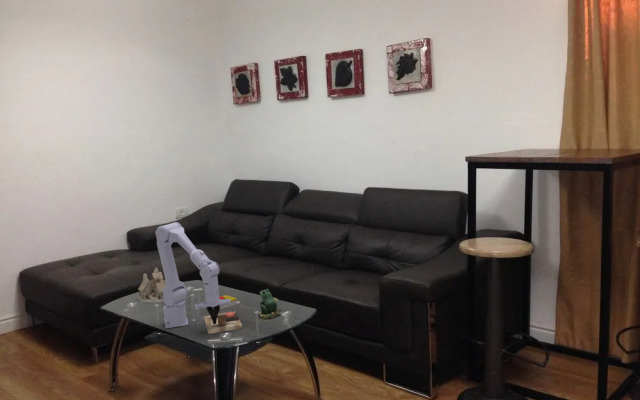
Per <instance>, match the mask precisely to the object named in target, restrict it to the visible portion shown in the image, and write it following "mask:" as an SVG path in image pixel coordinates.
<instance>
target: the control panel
mask: <svg viewBox="0 0 640 400" xmlns="http://www.w3.org/2000/svg"><path fill="white" fill-rule="evenodd" d="M234 312H235V317H230V318H226V317H225V321H226V325H221V326H218V320H217V322H216V324H213V321H212V318H210V314H208V315H204V316H203V320H204V324H205V327H206V330H207V334H208V335H209V334H218V333H223V332H229V331H234V330H235V331H236V330H242V329H243V324H242V322H241V320H240V317H239V314H238V312H237V311H234ZM225 313H226V312H222V313H218V315H225Z"/></svg>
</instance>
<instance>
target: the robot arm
mask: <svg viewBox="0 0 640 400" xmlns="http://www.w3.org/2000/svg"><path fill="white" fill-rule="evenodd" d="M155 237H156V246H157V250H158V254H159V258H160V262H161V267H162V272H163V277H164V281H165V280H166V285H165V287H164V289H163V300H164V302H163V303H164V304H165V305H163V315H164V318H163V323H164V326H165V329H170V328H176V327H183V326H189V319H188V317H187V307H186V302H187V299H188V298H189V291H188V289H187V288H186V286H185V283H184V282H183V281H180V278H179V274H178V269H177V265H176V260H175V256H174V253H173V248H172V244H173V243H177V244H178V245H179V246H181V247H182V248H183V249H184V250H185V251H186V252H187V253H188V254H189V259H190V260H191V262H192V263H193V264H194V265H195V266H196V267H197V268H198V270H199V275H200V277H201V278H202V279H201V280H202V283H203V287H204V300H205V301H202V302H199V303H194V310H195V311H197V310H201V309H206V308H207V309H206V310H207V313H208V315H210V316H211V318H212V321H213V324H216V322H217V316H218V314H220V311H221V310H220V306H222V305H231V300H230V299H223V300H220V299H219V297H220V290H219V289H220V288H219V280H218V275H219V274H220V271H221V269H220V265H219V264H218V262H216V261H213V260H211V259H210V258H209V257H208V256H207V255H206V254H205V252H204V250H202V249H197V247H196V246H195V245H194V243H192V241H191V240H190V239H189V238H188V236H187V234H186V233H185V228H184V227H183V226H182V225H181V223H179V222H177V221H174V222H172V223H168V224H165V225H160V226H158V227H157V229H156V230H155Z"/></svg>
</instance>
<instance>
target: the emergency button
mask: <svg viewBox="0 0 640 400" xmlns="http://www.w3.org/2000/svg"><path fill="white" fill-rule="evenodd" d="M219 299H220V300H223V299H230V300H231V305H222V306H220V311H221V310H224V309H227V308H230V307H233V306H235V305H238V304H241V303H242V302H241V301H239V300H238V299H237V298H236V297H233V296H230V295H227V294H226V295H222V296H219ZM205 309H206V310H207V308H205Z"/></svg>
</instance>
